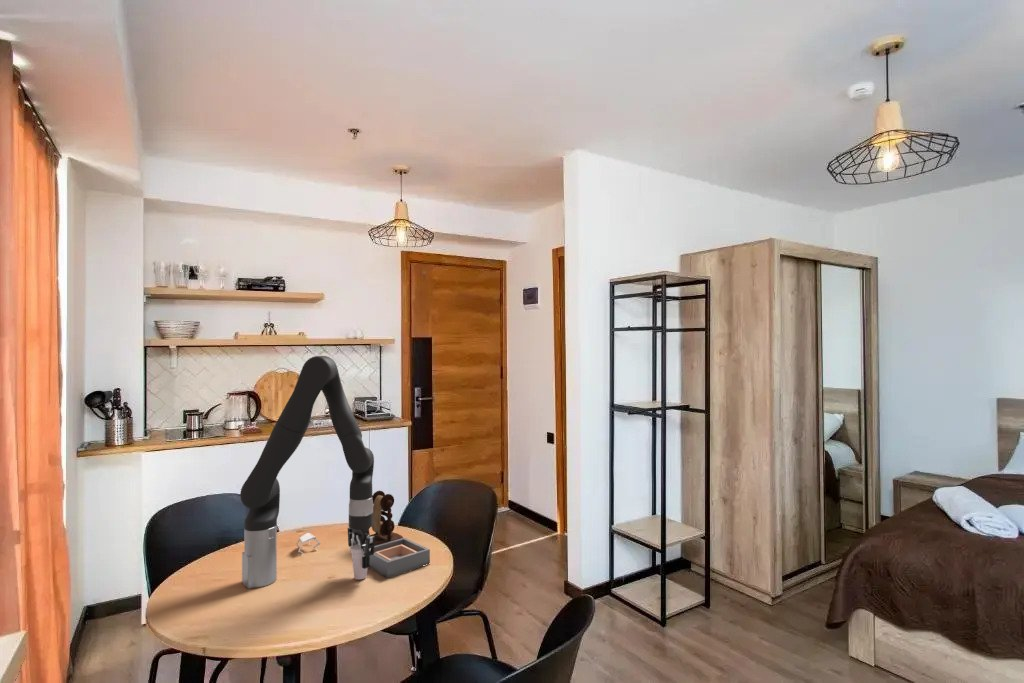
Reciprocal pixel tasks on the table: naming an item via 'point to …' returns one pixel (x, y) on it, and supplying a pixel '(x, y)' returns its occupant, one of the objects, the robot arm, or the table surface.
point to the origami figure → (307, 538)
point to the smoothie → (358, 562)
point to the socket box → (398, 557)
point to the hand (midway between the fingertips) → (360, 564)
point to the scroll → (383, 519)
